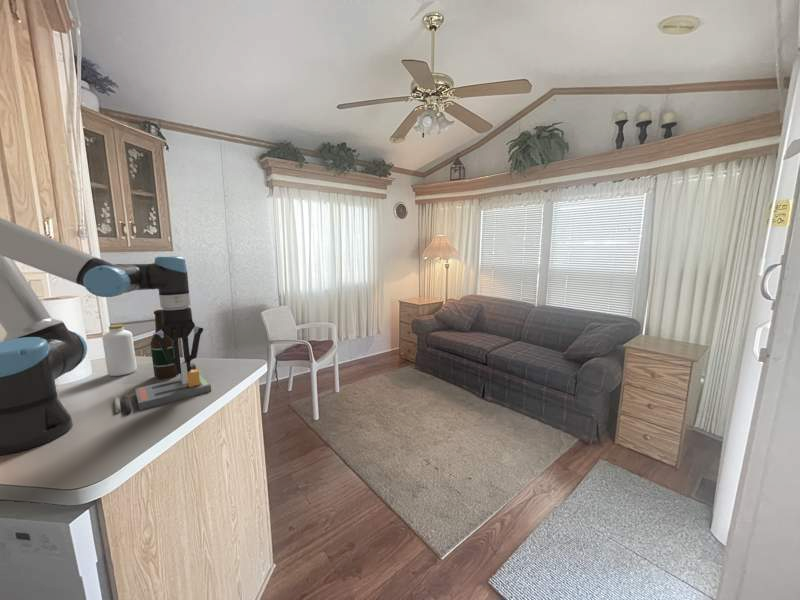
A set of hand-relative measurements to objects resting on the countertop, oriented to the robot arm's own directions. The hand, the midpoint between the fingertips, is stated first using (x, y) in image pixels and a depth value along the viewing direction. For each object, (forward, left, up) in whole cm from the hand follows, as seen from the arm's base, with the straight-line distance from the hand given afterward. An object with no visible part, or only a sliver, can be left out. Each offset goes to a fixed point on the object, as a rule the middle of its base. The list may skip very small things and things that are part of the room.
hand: (184, 382), depth 102 cm
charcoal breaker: (+3, +7, -1) cm, 8 cm away
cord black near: (-14, +2, -4) cm, 15 cm away
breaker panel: (-3, +4, -4) cm, 6 cm away
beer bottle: (-2, +24, -4) cm, 24 cm away
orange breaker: (+2, 0, -1) cm, 3 cm away
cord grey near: (-16, +4, -4) cm, 17 cm away
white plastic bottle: (-14, +39, -4) cm, 41 cm away
